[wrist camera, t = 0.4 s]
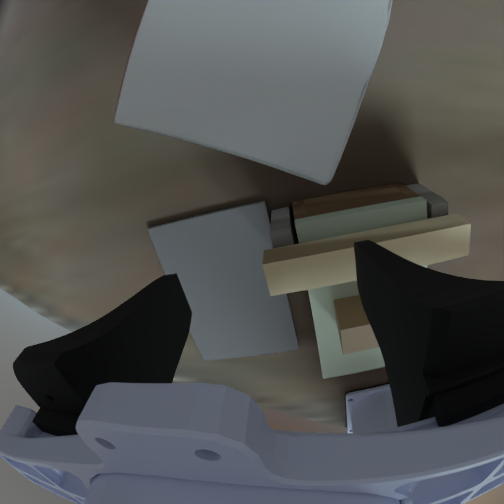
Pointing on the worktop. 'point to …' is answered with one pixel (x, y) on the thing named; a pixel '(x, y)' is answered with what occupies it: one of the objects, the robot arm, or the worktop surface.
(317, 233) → the mint green slab
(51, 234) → the worktop surface
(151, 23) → the small box
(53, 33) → the worktop surface
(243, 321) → the mat
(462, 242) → the beige rectangular bar
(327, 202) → the open brown box
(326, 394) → the worktop surface
